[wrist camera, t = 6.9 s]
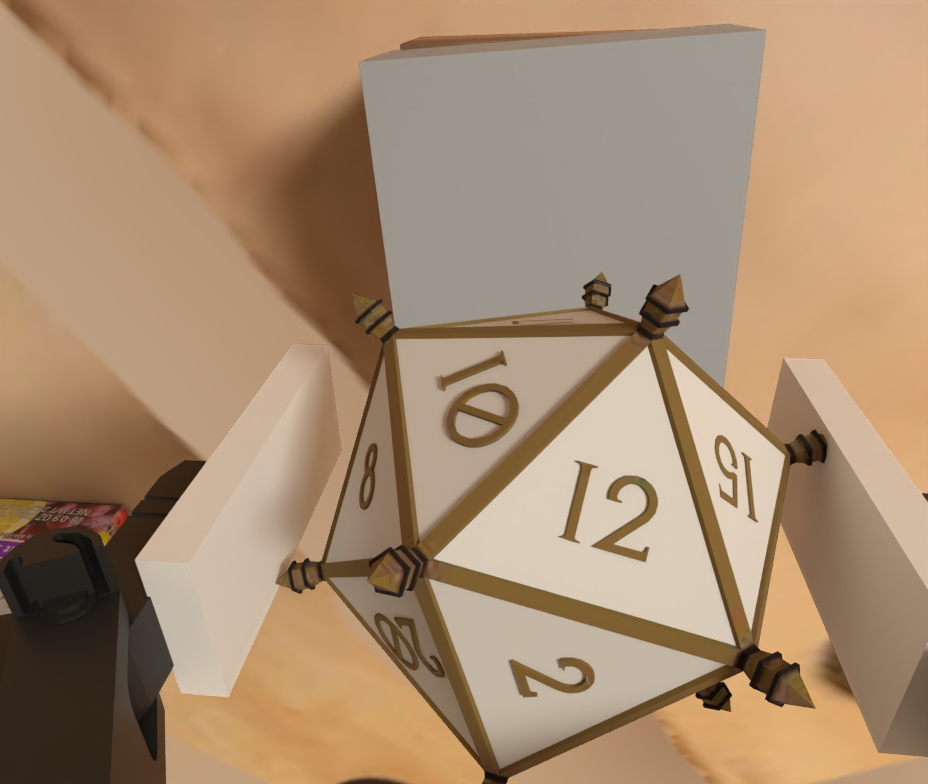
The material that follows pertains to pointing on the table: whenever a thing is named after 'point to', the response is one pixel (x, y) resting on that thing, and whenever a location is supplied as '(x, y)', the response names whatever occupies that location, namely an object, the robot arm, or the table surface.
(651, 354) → the game die
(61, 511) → the snack box
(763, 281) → the table surface
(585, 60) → the tower top
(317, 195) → the table surface
